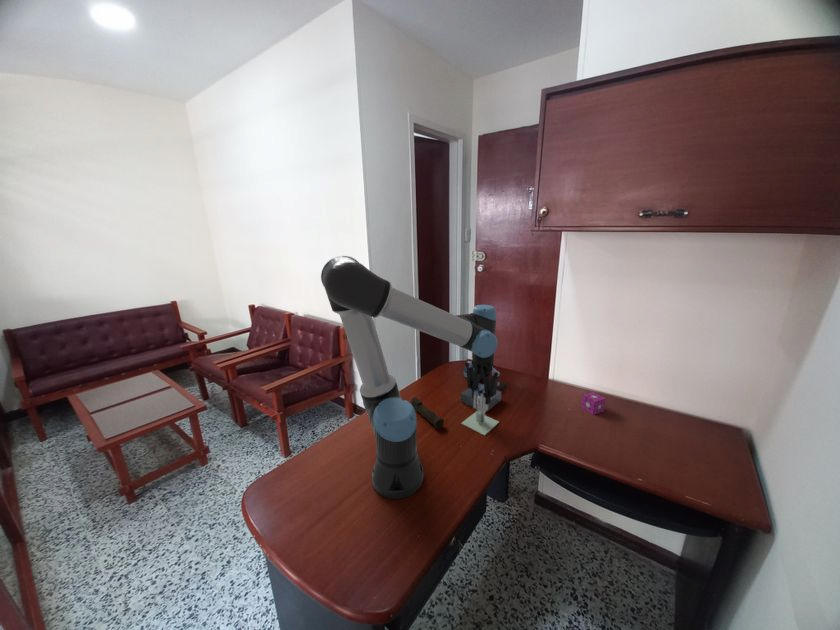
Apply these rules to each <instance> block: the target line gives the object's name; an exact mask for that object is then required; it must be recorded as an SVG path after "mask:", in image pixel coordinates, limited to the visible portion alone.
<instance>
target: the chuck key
mask: <svg viewBox="0 0 840 630" xmlns="http://www.w3.org/2000/svg"><path fill="white" fill-rule="evenodd" d="M474 394H475V395H477V407H476V408H475V410H476V411H475V412H476V421H477V422H484V421H485V416H486V413H485V412H482V407H483V396H484V395H485V390H484V383H483V384H482V385H481V386H480V387H478V388H477V389H476V390H474Z"/></svg>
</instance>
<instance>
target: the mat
mask: <svg viewBox="0 0 840 630" xmlns="http://www.w3.org/2000/svg"><path fill="white" fill-rule="evenodd" d="M499 423H500V421H499V420H496V419H494V418H492V417H490V416H487V415H485V421H484V422H477V421H476V411H475V412H474V413H473V414H471V415H470V416H469V417H466V419H465V420H464V421H462V422H461V423H460V424H461V425H462V426H464V427H465V428H466V427H467V428H468V429H470V430H473V431H474V432H476V433H478V434H480V435H482V436H486V435H488V433H490V432H491V430H493V429H494V428H495V427H496V426H497V425H498V424H499Z"/></svg>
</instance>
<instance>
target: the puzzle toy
mask: <svg viewBox="0 0 840 630" xmlns="http://www.w3.org/2000/svg"><path fill="white" fill-rule="evenodd" d="M605 404H606V398H605V397H604V396H601V395H600V394H598V393H596V392H593V391H592V392H588V393H585V394H582V397H581V403H580V408H581V409H583V410H585V411H586V412H588V413H590V414H591V415H592V416H594V415H597V414H600V413H603V412H604V411H605V407H606V406H605Z"/></svg>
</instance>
